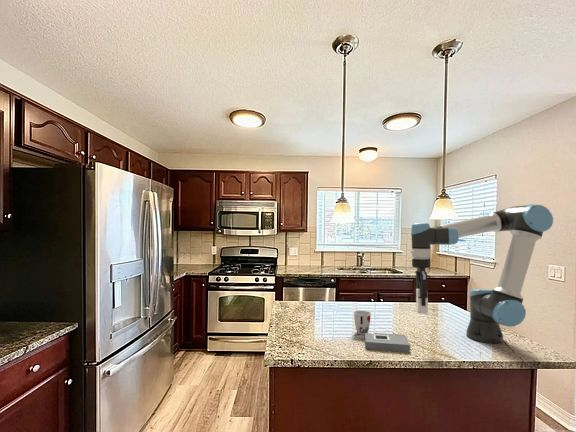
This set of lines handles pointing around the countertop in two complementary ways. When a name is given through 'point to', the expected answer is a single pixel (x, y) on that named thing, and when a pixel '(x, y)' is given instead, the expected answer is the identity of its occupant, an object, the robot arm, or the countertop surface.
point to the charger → (419, 302)
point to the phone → (390, 334)
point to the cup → (362, 321)
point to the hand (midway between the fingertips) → (422, 311)
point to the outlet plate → (387, 342)
